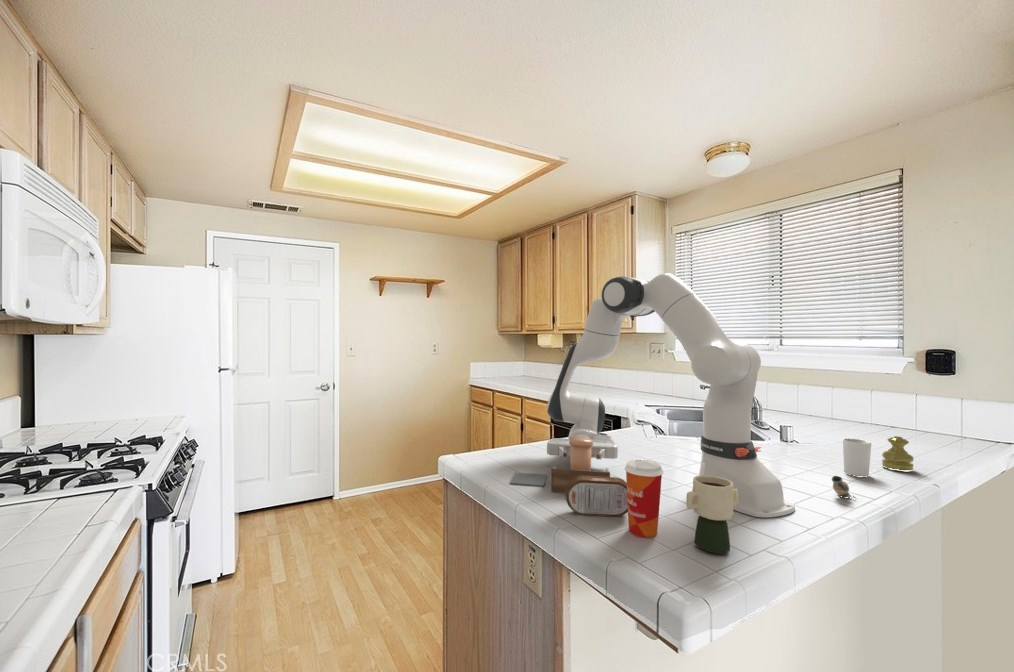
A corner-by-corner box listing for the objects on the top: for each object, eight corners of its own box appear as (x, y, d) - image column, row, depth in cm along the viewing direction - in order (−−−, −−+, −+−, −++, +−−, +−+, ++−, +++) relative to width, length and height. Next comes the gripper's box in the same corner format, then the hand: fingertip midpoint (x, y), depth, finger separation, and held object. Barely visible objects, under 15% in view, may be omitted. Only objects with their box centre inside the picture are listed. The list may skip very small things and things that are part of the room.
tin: (631, 513, 103) (632, 476, 103) (634, 519, 100) (634, 481, 100) (564, 510, 104) (565, 473, 104) (565, 515, 101) (565, 478, 101)
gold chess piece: (910, 468, 141) (911, 436, 141) (916, 474, 134) (916, 440, 134) (880, 464, 145) (880, 433, 144) (884, 470, 138) (884, 437, 138)
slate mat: (515, 473, 130) (515, 472, 130) (546, 476, 129) (546, 474, 129) (510, 484, 121) (510, 482, 121) (543, 486, 120) (543, 485, 120)
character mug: (724, 538, 91) (725, 473, 91) (750, 555, 84) (751, 485, 84) (675, 542, 89) (676, 476, 89) (697, 560, 82) (699, 488, 82)
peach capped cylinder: (597, 485, 121) (598, 440, 121) (577, 489, 118) (577, 443, 118) (583, 478, 127) (584, 435, 127) (564, 481, 124) (564, 437, 124)
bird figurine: (842, 503, 111) (842, 480, 110) (822, 496, 116) (822, 473, 116) (858, 501, 112) (858, 478, 112) (837, 494, 117) (838, 472, 117)
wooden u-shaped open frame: (553, 479, 125) (554, 458, 125) (607, 483, 123) (608, 461, 123) (551, 492, 116) (551, 468, 116) (609, 496, 113) (610, 472, 113)
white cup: (874, 479, 129) (875, 444, 129) (847, 476, 132) (847, 442, 131) (864, 472, 136) (865, 439, 136) (838, 469, 138) (839, 437, 138)
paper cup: (618, 524, 97) (619, 458, 97) (653, 523, 98) (654, 458, 97) (631, 541, 89) (632, 470, 89) (669, 540, 90) (670, 469, 90)
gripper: (548, 431, 141) (543, 442, 127) (616, 434, 137) (619, 445, 123) (548, 451, 141) (543, 464, 127) (615, 455, 137) (618, 469, 123)
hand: (581, 455), depth 125 cm, fingers open, 8 cm apart
